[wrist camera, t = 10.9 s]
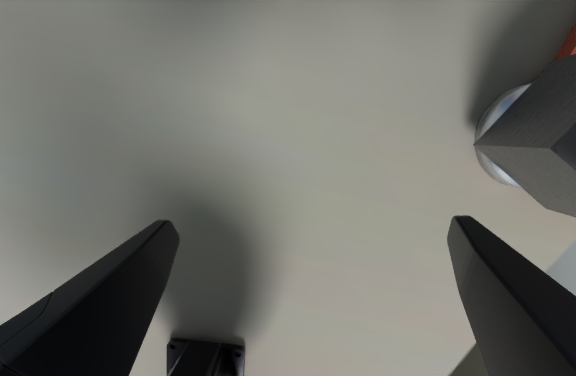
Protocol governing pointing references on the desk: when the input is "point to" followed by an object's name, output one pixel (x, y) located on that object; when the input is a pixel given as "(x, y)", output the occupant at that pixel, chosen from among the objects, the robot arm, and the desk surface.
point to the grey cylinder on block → (540, 138)
